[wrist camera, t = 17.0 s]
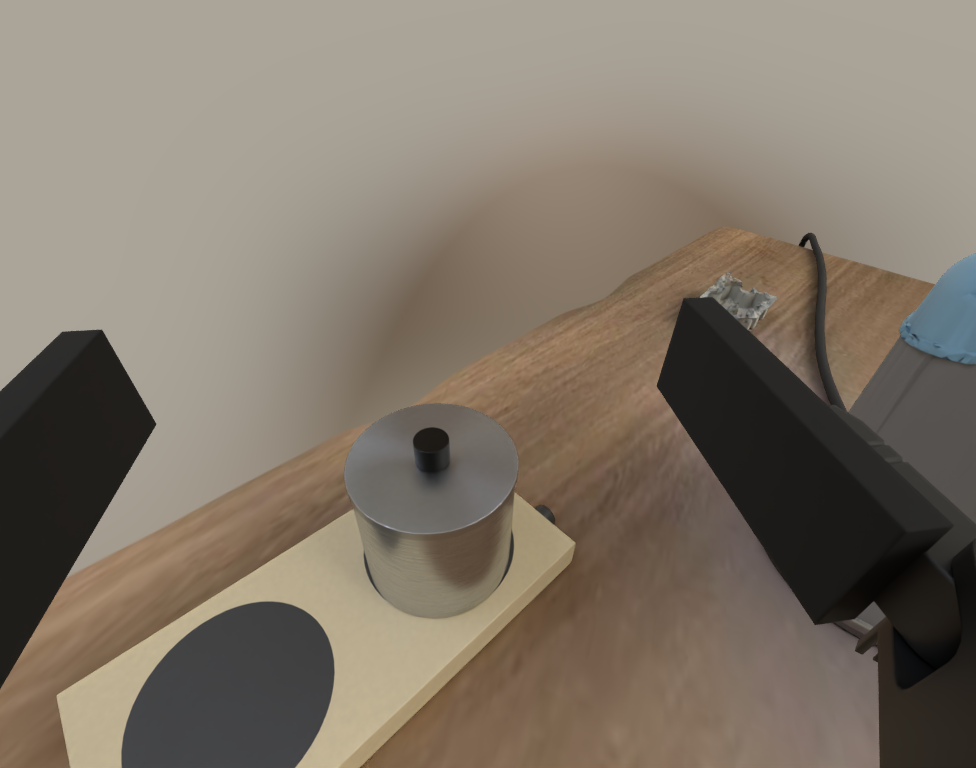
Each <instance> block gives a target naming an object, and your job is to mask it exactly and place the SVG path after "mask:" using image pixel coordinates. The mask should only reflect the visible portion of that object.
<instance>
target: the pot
mask: <svg viewBox="0 0 976 768" xmlns="http://www.w3.org/2000/svg"><path fill="white" fill-rule="evenodd" d="M517 476H518V455H517V451H516V448H515V445H514V443H513V441H512V439H511V437H510V436H509V435H508V433H507V432H506V431H505V429H504V428H503V427H502V426H501V425H500V424H498V423H497V422H496V421H494V420H493V419H492V418H490V417H488V416H487V415H485V414H483V413H481V412H479V411H476V410H474V409H471V408H468V407H464V406H459V405H453V404H441V403H435V404H423V405H416V406H411V407H407V408H404V409H401V410H398V411H396V412H393V413H391V414H389V415H387V416H385V417H383V418H381V419H379V420H378V421H376V422H375V423H373V424H372V425H371V426H370V427H368V428H367V429H366V430H365V431H364V432H363V433H362V434H361V435H360V436H359V437H358V439H357V440H356V441H355V443H354V444H353V446H352V448H351V450H350V451H349V454H348V457H347V459H346V464H345V469H344V479H345V485H346V489H347V493H348V496H349V499H350V501H351V503H352V505H353V509H354V513H355V516H356V520H357V524H358V528H359V532H360V536H361V540H362V544H363V547H364V551H365V555H366V559H367V563H368V567H369V571H370V574H371V577H372V580H373V582H374V584H375V586H376V588H377V590H378V591H379V592H380V594H381V595H382V596H383V597H384V598H385V599H386V600H387V601H388V602H389V603H390V604H391V605H393V606H394V607H396V608H397V609H399V610H401V611H403V612H405V613H408V614H411V615H413V616H418V617H423V618H446V617H451V616H456V615H458V614H461V613H464V612H467V611H469V610H471V609H473V608H474V607H476V606H477V605H479V604H480V603H482V602H483V601H484V600H486V599H487V598H488V597H489V596H490V595H491V594H492V593H493V592H494V590H495V589H496V588H497V587H498V585H499V584H500V582H501V581H502V578H503V576H504V574H505V572H506V569H507V566H508V561H509V553H510V541H511V529H512V517H513V505H514V493H515V485H516V482H517Z"/></svg>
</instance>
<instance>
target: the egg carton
mask: <svg viewBox="0 0 976 768" xmlns="http://www.w3.org/2000/svg"><path fill="white" fill-rule="evenodd" d="M703 297H713V298H714V299H716V300H717V301H718V302H719V303H720V304H721V305H722V306H723V307H724V308H725V309H726V310H727V311H728V312H729V313H730V314H731V315H732V316H734V317H735V318H736V319H737V320H738V321H739V322H740V323H741V324H742V325H743V326H744V327H745V328H746V329H747V330H749V328H752V329H753V328H754V327H755V326H756V324H757V321H758V319H763V318H764V316H765V314H766V312H767V309H768V307H770V306H771V305H772V304H773V303H774V301H775V300H776V299H777V297H776V296H770V295H769V294H768V293H767V292H765V293H760V292H758V291H757V290H756V288H752V290H751V292H749V291H745V290H742V282H741V281H740V280H738V279H735V278H733V277H731V276H730V272H728V273H727V274H724V275H723V276H722V277H721V278H720V279H719V280H718V281H717V282H716V284H715V285H714V286H712V287H710V288H709V290H708V291H707V292H705V293H704V294H703V295H701V297H700V298H703Z"/></svg>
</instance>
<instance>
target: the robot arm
mask: <svg viewBox="0 0 976 768" xmlns="http://www.w3.org/2000/svg"><path fill="white" fill-rule="evenodd" d="M808 240H810V243H811V246H812V249H813V251H814V254H815V257H816V261H817V267H818V295H817V304H816V316H815V345H816V356H817V362H818V367H819V371H820V375H821V378H822V382H823V385H824V388H825V390H826V393H827V396H828V398H829V401H830V403H831V405H827V404H826V403H824V402H823V401H822V400H821V399H820V398H819V397H818V396H817V395H816V394H815V393H814V392H813V391H812V390H811V389H810V388H809V387H808V386H806V385H805V384H804V383H803V382H802V381H801V380H800V379H799V378H798V377H797V376H796V375H795V374H794V373H793V372H792V371H791V370H790V369H789V368H787V367H786V366H785V365H784V364H783V363H782V362H781V361H780V360H779V359H778V358H777V357H776V356H775V355H774V354H773V353H772V352H771V351H769V350H768V349H767V348H766V347H765V346H764V345H763V344H762V343H761V342H760V341H759V340H758V339H757V338H756V337H755V336H754V335H753V334H751V333H750V332H749V331H748V330H747V329H746V328H745V327H744V326H743V325H742V324H741V323H740V322H739V321H738V320H737V319H736V318H735V317H734V316H732V315H731V314H730V313H729V312H728V311H727V310H726V309H725V308H724V307H723V306H722V305H721V304H720V303H719V302H718V301H717V300H716V299H714V298H713V297H703V298H684V299H683V302H682V306H681V309H680V312H679V315H678V318H677V322H676V325H675V328H674V331H673V335H672V338H671V341H670V344H669V348H668V351H667V354H666V357H665V361H664V364H663V367H662V370H661V374H660V377H659V380H658V383H657V387H658V389H659V390H660V392H661V393H662V395H663V396H664V398H665V399H666V401H667V402H668V404H669V405H670V407H671V408H672V410H673V411H674V413H675V415H676V416H677V418H678V419H679V421H680V422H681V424H682V425H683V427H684V428H685V430H686V431H687V433H688V434H689V436H690V437H691V439H692V440H693V442H694V443H695V445H696V446H697V448H698V449H699V451H700V452H701V454H702V455H703V457H704V458H705V460H706V461H707V463H708V464H709V466H710V467H711V469H712V470H713V472H714V473H715V475H716V476H717V478H718V479H719V481H720V482H721V484H722V485H723V487H724V488H725V490H726V491H727V493H728V494H729V496H730V497H731V499H732V500H733V502H734V503H735V505H736V507H737V508H738V510H739V511H740V513H741V514H742V516H743V517H744V519H745V520H746V522H747V523H748V525H749V526H750V528H751V529H752V531H753V532H754V534H755V535H756V537H757V538H758V540H759V541H760V543H761V544H762V546H763V547H764V549H765V550H766V552H767V553H768V555H769V557H770V559H771V560H772V562H773V563H774V565H775V566H776V568H777V569H778V570H779V572H780V573H781V575H782V576H783V577H784V579H785V580H786V582H787V583H788V585H789V586H790V588H791V589H792V591H793V592H794V594H795V595H796V597H797V599H798V600H799V602H800V603H801V605H802V606H803V608H804V609H805V611H806V612H807V614H808V615H809V617H810V618H811V620H812V621H813V623H814V624H815V625H818V624H825V623H832V622H834V623H836V624H837V625H839V626H840V627H842V628H843V629H845V630H847V631H848V632H850V633H852V634H854V635H855V636H857V637H859V638H861V639H860V640H858V643H857V646H856V649H855V651H856V652H858V653H860V654H863V653H865V652H866V651H867V650H868V649H869V648H871V647H872V646H873V645H876V646H878V654H877V655H876V656H875V657H874V658H873V660H874V661H876V662H878V683H879V744H880V768H976V253H975V254H973V255H970V256H968V257H966V258H964V259H962V260H960V261H959V262H957V263H956V264H954V265H953V266H952V267H950V268H949V269H948V270H947V271H946V272H945V273H944V274H943V275H942V276H941V278H940V279H939V280H938V282H937V283H936V284H935V286H934V287H933V288H932V290H931V291H930V292H929V294H928V295H927V296H926V298H925V299H924V300H923V302H922V303H921V304H920V306H919V307H918V308H917V310H916V311H914V312H913V313H911V314H910V315H909V316H908V317H907V318H906V319H905V320H904V321H903V323H902V325H901V327H900V329H899V332H900V334H901V336H900V337H899V339H898V340H897V342H896V343H895V344H894V346H893V347H892V349H891V350H890V352H889V353H888V355H887V356H886V358H885V359H884V361H883V362H882V364H881V365H880V366H879V368H878V369H877V371H876V372H875V374H874V375H873V377H872V378H871V380H870V381H869V383H868V384H867V385H866V387H865V388H864V390H863V391H862V393H861V394H860V396H859V397H858V399H857V400H856V402H855V403H854V405H853V406H852V407H851V409H850V410H849V412H847V411H846V408H845V406H844V404H843V402H842V400H841V398H840V395H839V393H838V391H837V388H836V386H835V383H834V381H833V378H832V375H831V372H830V368H829V364H828V360H827V354H826V345H825V333H824V320H825V301H826V269H825V263H824V258H823V254H822V252H821V249H820V247H819V245H818V242H817V239H816V236H815V235H814V234H813V233H808V234H806V235H805V236H804V237H803V238H802V240H801V242H800V243H799V245H798V246H801V247H805V244H806V242H807V241H808ZM155 426H156V423H155V421H154V419H153V417H152V416H151V414H150V412H149V410H148V409H147V407H146V405H145V404H144V402H143V400H142V398H141V397H140V395H139V393H138V391H137V390H136V388H135V386H134V384H133V383H132V381H131V379H130V377H129V376H128V374H127V372H126V371H125V369H124V367H123V365H122V364H121V362H120V360H119V358H118V357H117V355H116V353H115V351H114V350H113V348H112V346H111V345H110V343H109V341H108V339H107V338H106V336H105V334H104V332H103V331H102V330H87V331H70V332H69V331H68V332H62V333H61V334H60V335H59V336H58V337H56V338H55V339H54V340H53V341H52V342H51V343H50V344H49V345H48V346H47V347H46V348H45V349H44V350H43V351H42V352H41V353H40V354H39V355H38V356H37V357H36V358H35V359H33V360H32V361H31V362H30V363H29V364H28V365H27V366H26V367H25V368H24V369H23V370H22V371H21V372H20V373H19V374H18V375H17V376H16V377H15V378H14V379H13V380H12V381H11V382H9V384H7V385H6V386H5V387H4V388H3V389H2V390H1V391H0V688H1V687H2V685H3V683H4V682H5V680H6V678H7V677H8V675H9V673H10V671H11V670H12V668H13V666H14V665H15V663H16V661H17V660H18V658H19V656H20V655H21V653H22V651H23V649H24V648H25V646H26V644H27V643H28V641H29V639H30V638H31V636H32V634H33V632H34V631H35V629H36V627H37V626H38V624H39V622H40V621H41V619H42V617H43V616H44V614H45V612H46V610H47V609H48V607H49V605H50V604H51V602H52V600H53V599H54V597H55V595H56V594H57V592H58V590H59V588H60V587H61V585H62V583H63V582H64V580H65V578H66V577H67V575H68V573H69V571H70V570H71V568H72V566H73V565H74V563H75V561H76V560H77V558H78V556H79V554H80V553H81V551H82V549H83V548H84V546H85V544H86V543H87V541H88V539H89V538H90V536H91V534H92V533H93V531H94V529H95V527H96V526H97V524H98V522H99V521H100V519H101V517H102V516H103V514H104V512H105V510H106V509H107V507H108V505H109V504H110V502H111V500H112V499H113V497H114V495H115V494H116V492H117V490H118V489H119V487H120V485H121V483H122V482H123V480H124V478H125V477H126V475H127V473H128V472H129V470H130V468H131V467H132V465H133V463H134V461H135V460H136V458H137V456H138V455H139V453H140V451H141V450H142V448H143V446H144V444H145V443H146V441H147V439H148V437H149V436H150V434H151V433H152V431H153V429H154V428H155Z"/></svg>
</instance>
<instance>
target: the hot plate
mask: <svg viewBox="0 0 976 768" xmlns="http://www.w3.org/2000/svg"><path fill="white" fill-rule="evenodd" d="M554 524H555V517H554V515H553V513H552V512H551V511H550V510H549V509H548V508H547V507H546V506H544V505H539V506H537V507H536V508H535V509H534V508H533V507H532V506H531V505H530V504H528V503H527V502H526V501H525V500H524V499H522V498H521V497H520V496H519V495H518V494H516V493H514V505H513V517H512V529H511V541H510V553H509V561H508V566H507V569H506V572H505V574H504V576H503V578H502V581H501V582H500V584H499V585H498V587H497V588H496V589H495V590H494V592H493V593H492V594H491V595H490V596H489V597H488V598H487V599H486V600H484V601H483V602H482V603H480V604H479V605H477V606H476V607H474V608H473V609H471V610H469V611H467V612H464V613H461V614H458V615H456V616H451V617H446V618H423V617H418V616H413V615H411V614H408V613H405V612H403V611H401V610H399V609H397V608H396V607H394V606H393V605H391V604H390V603H389V602H388V601H387V600H386V599H385V598H384V597H383V596H382V595H381V594H380V592H379V591H378V590H377V588H376V586H375V584H374V582H373V580H372V577H371V574H370V571H369V567H368V563H367V559H366V555H365V551H364V547H363V544H362V540H361V536H360V532H359V528H358V524H357V520H356V516H355V513H354V509H352V510H350V511H349V512H347V513H346V514H344V515H342V516H341V517H339V518H338V519H336V520H335V521H333V522H331V523H330V524H328V525H327V526H325V527H323V528H322V529H320V530H319V531H317V532H315V533H314V534H312V535H311V536H309V537H307V538H306V539H304V540H303V541H301V542H299V543H298V544H296V545H295V546H293V547H292V548H290V549H288V550H287V551H285V552H284V553H282V554H280V555H279V556H277V557H276V558H274V559H272V560H271V561H269V562H268V563H266V564H264V565H263V566H261V567H260V568H258V569H256V570H255V571H253V572H252V573H250V574H249V575H247V576H245V577H244V578H242V579H241V580H239V581H237V582H236V583H234V584H233V585H231V586H229V587H228V588H226V589H225V590H223V591H221V592H220V593H218V594H217V595H215V596H213V597H212V598H210V599H209V600H207V601H206V602H204V603H202V604H201V605H199V606H198V607H196V608H194V609H193V610H191V611H190V612H188V613H186V614H185V615H183V616H182V617H180V618H178V619H177V620H175V621H174V622H172V623H171V624H169V625H167V626H166V627H164V628H163V629H161V630H159V631H158V632H156V633H155V634H153V635H151V636H150V637H148V638H147V639H145V640H143V641H142V642H140V643H139V644H137V645H135V646H134V647H132V648H131V649H129V650H128V651H126V652H124V653H123V654H121V655H120V656H118V657H116V658H115V659H113V660H112V661H110V662H108V663H107V664H105V665H104V666H102V667H100V668H99V669H97V670H96V671H94V672H92V673H91V674H89V675H88V676H86V677H85V678H83V679H81V680H80V681H78V682H77V683H75V684H73V685H72V686H70V687H69V688H67V689H65V690H64V691H62V692H61V693H59V694H58V695H57V696H56V697H57V702H58V707H59V712H60V717H61V723H62V728H63V733H64V738H65V743H66V748H67V753H68V758H69V763H70V768H360V767H361V766H362V765H363V764H364V763H365V762H366V761H367V760H368V759H369V758H370V757H371V756H372V755H373V754H374V753H375V752H376V751H377V750H378V749H379V748H380V747H381V746H382V745H383V744H384V743H385V742H387V741H388V740H389V739H390V738H391V737H392V736H393V735H394V734H395V733H396V732H397V731H398V730H399V729H400V728H401V727H402V726H403V725H404V724H405V723H406V722H407V721H408V720H409V719H410V718H411V717H412V716H413V715H414V714H415V713H416V712H417V711H418V710H420V709H421V708H422V707H423V706H424V705H425V704H426V703H427V702H428V701H429V700H430V699H431V698H432V697H433V696H434V695H435V694H436V693H437V692H438V691H439V690H440V689H441V688H442V687H443V686H444V685H445V684H446V683H447V682H448V681H449V680H450V679H451V678H452V677H454V676H455V675H456V674H457V673H458V672H459V671H460V670H461V669H462V668H463V667H464V666H465V665H466V664H467V663H468V662H469V661H470V660H471V659H472V658H473V657H474V656H475V655H476V654H477V653H478V652H479V651H480V650H481V649H482V648H483V647H484V646H485V645H487V644H488V643H489V642H490V641H491V640H492V639H493V638H494V637H495V636H496V635H497V634H498V633H499V632H500V631H501V630H502V629H503V628H504V627H505V626H506V625H507V624H508V623H509V622H510V621H511V620H512V619H513V618H514V617H515V616H516V615H517V614H518V613H520V612H521V611H522V610H523V609H524V608H525V607H526V606H527V605H528V604H529V603H530V602H531V601H532V600H533V599H534V598H535V597H536V596H537V595H538V594H539V593H540V592H541V591H542V590H543V589H544V588H545V587H546V586H547V585H548V584H549V583H550V582H551V581H553V580H554V579H555V578H556V577H557V576H558V575H559V574H560V573H561V572H562V571H563V570H564V569H565V568H566V567H567V566H568V565H569V564H570V563H571V561H572V557H573V553H574V548H575V544H576V543H575V542H574V541H573V540H571V539H570V538H569V537H568V536H567V535H565V534H564V533H563V532H562V531H561V530H559V529H558V528H557V527H556V526H555V525H554Z"/></svg>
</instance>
